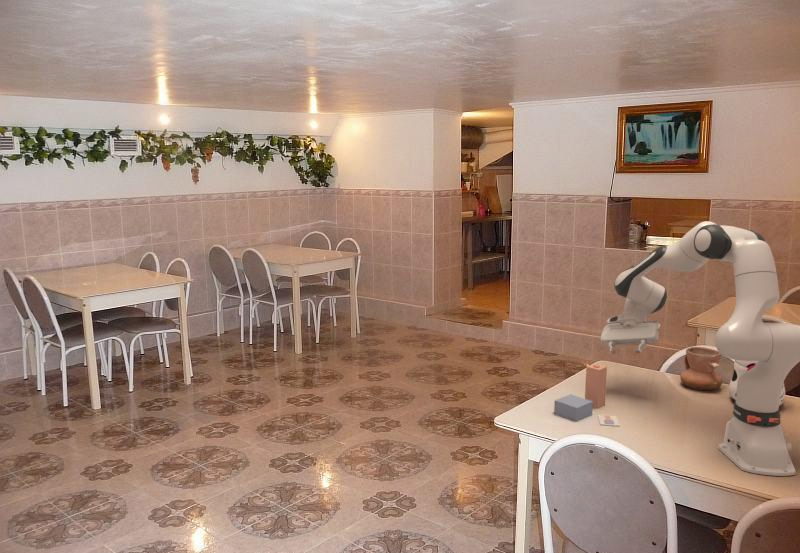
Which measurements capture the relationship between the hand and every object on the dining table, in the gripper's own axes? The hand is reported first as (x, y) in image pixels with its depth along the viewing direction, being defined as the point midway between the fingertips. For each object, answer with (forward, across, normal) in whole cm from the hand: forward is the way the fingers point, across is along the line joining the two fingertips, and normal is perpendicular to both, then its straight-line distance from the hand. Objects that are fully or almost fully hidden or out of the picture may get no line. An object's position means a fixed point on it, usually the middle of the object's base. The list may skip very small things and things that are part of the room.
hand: (625, 352), depth 231 cm
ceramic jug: (-14, -12, -37) cm, 42 cm away
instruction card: (+28, +1, -2) cm, 28 cm away
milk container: (-6, -32, -38) cm, 50 cm away
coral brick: (+18, +10, -7) cm, 21 cm away
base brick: (+28, +12, +1) cm, 30 cm away
